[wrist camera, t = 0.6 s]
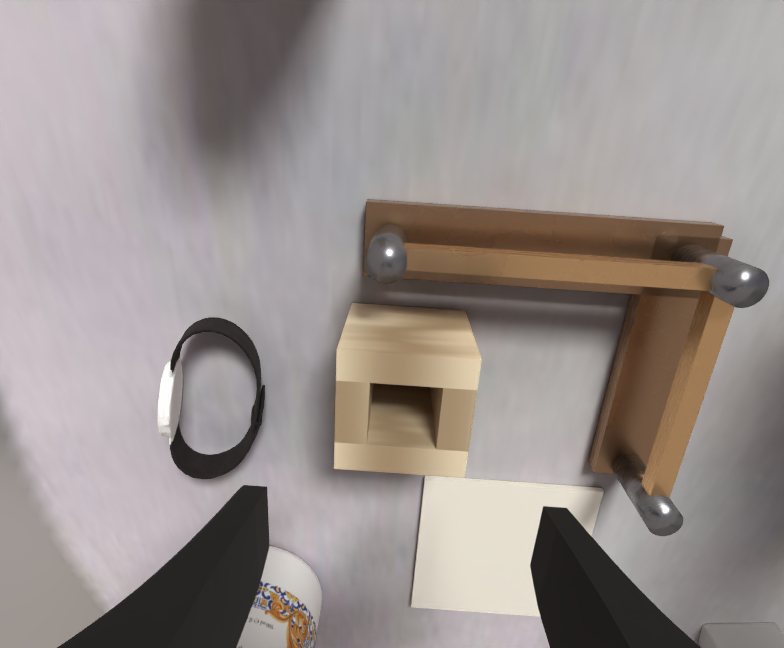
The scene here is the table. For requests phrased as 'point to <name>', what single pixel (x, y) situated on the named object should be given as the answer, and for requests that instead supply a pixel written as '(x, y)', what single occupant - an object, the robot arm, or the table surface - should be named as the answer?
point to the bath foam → (284, 605)
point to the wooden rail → (599, 274)
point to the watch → (172, 400)
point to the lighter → (741, 635)
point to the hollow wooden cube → (405, 390)
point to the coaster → (487, 541)
